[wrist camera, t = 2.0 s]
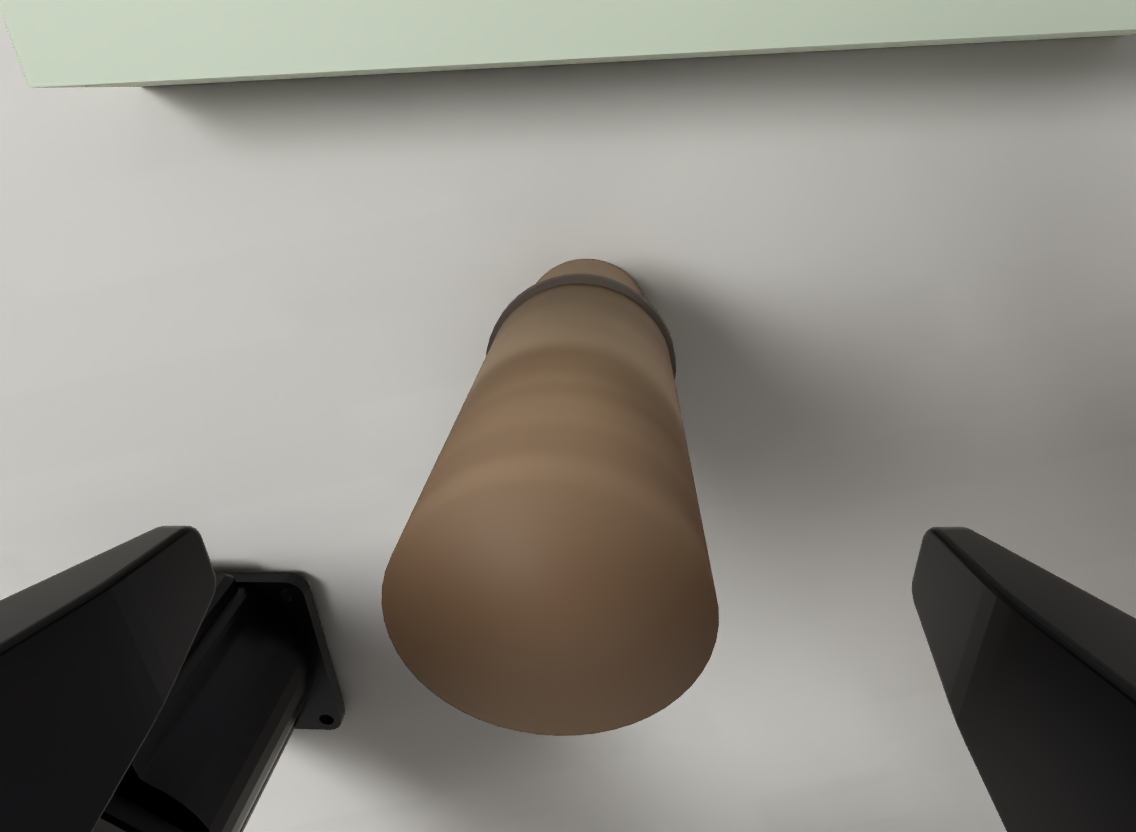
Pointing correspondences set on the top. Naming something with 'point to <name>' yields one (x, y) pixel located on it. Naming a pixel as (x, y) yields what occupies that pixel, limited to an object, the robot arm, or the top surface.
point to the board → (490, 33)
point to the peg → (560, 523)
